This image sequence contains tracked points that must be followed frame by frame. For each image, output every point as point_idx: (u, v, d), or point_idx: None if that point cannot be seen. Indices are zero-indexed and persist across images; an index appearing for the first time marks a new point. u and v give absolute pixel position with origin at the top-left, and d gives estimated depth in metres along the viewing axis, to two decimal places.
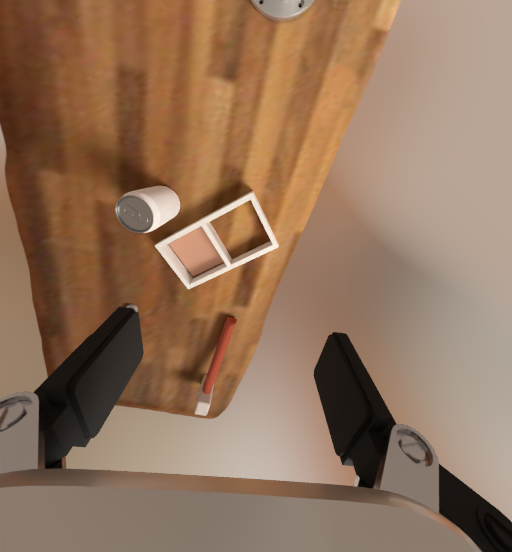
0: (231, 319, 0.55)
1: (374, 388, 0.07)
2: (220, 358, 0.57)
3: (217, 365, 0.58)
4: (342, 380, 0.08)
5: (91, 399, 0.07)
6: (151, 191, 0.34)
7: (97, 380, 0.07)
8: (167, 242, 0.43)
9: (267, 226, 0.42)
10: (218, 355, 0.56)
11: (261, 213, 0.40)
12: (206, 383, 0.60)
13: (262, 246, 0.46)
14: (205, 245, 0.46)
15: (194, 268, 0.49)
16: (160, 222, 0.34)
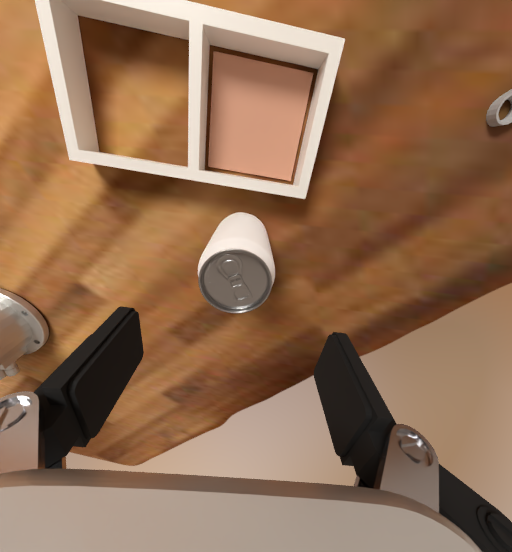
0: None
1: (374, 388, 0.07)
2: None
3: None
4: (342, 380, 0.08)
5: (91, 399, 0.07)
6: None
7: (97, 380, 0.07)
8: (280, 187, 0.21)
9: (52, 60, 0.17)
10: None
11: (60, 104, 0.18)
12: None
13: (101, 15, 0.17)
14: (232, 126, 0.21)
15: (293, 92, 0.20)
16: (219, 238, 0.16)
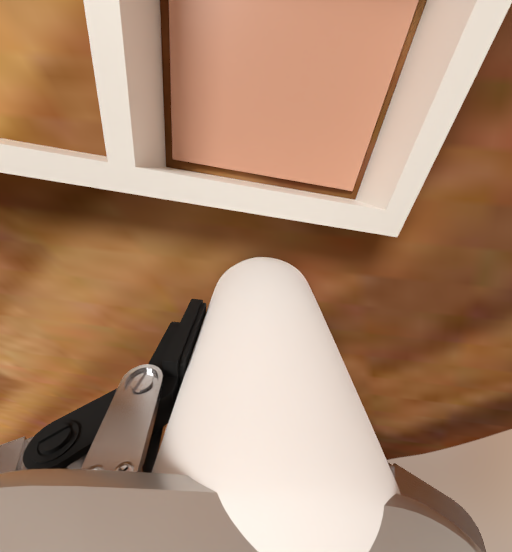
0: None
1: None
2: None
3: None
4: None
5: None
6: None
7: None
8: (340, 210, 0.09)
9: None
10: None
11: None
12: None
13: None
14: (224, 59, 0.09)
15: None
16: (209, 456, 0.04)
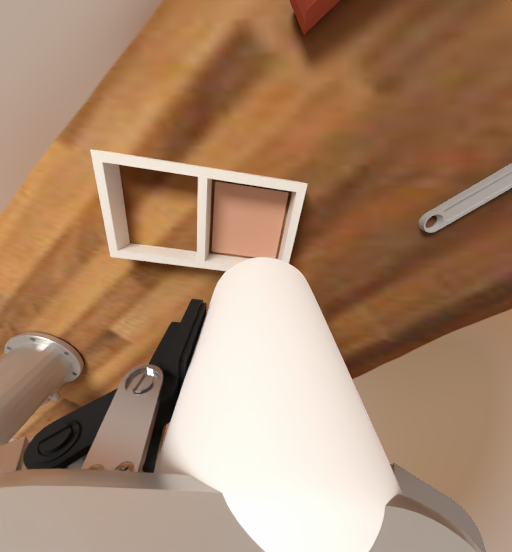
0: (297, 15, 0.18)
1: None
2: None
3: None
4: None
5: None
6: None
7: (190, 359, 0.08)
8: None
9: (102, 200, 0.24)
10: None
11: (106, 224, 0.25)
12: None
13: None
14: (229, 226, 0.28)
15: (274, 204, 0.27)
16: (211, 458, 0.04)
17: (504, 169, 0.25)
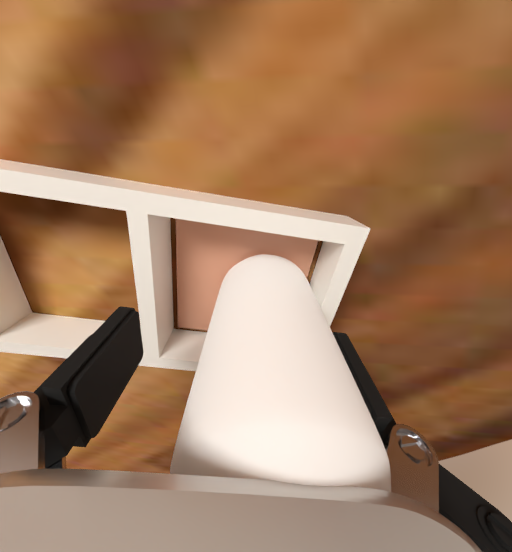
0: None
1: (374, 388, 0.07)
2: None
3: None
4: None
5: (91, 399, 0.07)
6: None
7: (97, 380, 0.07)
8: None
9: None
10: None
11: None
12: None
13: None
14: (207, 289, 0.15)
15: (290, 254, 0.14)
16: (232, 401, 0.05)
17: None
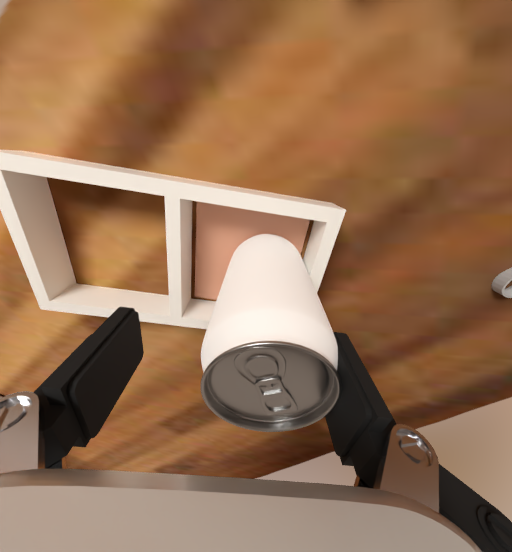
0: None
1: (374, 388, 0.07)
2: None
3: None
4: (342, 380, 0.08)
5: (91, 399, 0.07)
6: None
7: (97, 380, 0.07)
8: None
9: (13, 229, 0.15)
10: None
11: (26, 265, 0.16)
12: None
13: None
14: (219, 263, 0.19)
15: (287, 234, 0.18)
16: (240, 303, 0.09)
17: None
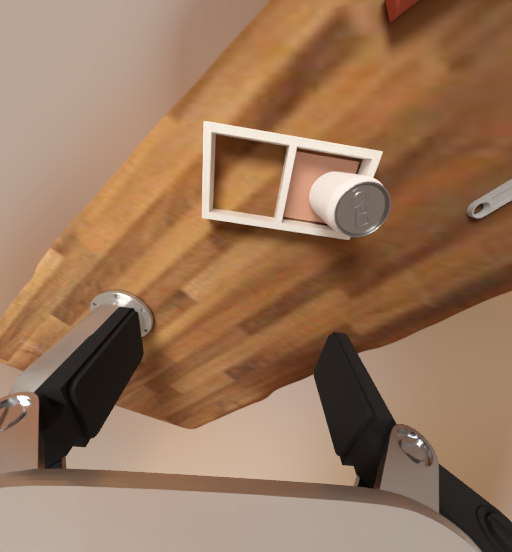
0: (389, 4, 0.22)
1: (374, 388, 0.07)
2: None
3: None
4: (342, 380, 0.08)
5: (91, 399, 0.07)
6: (322, 216, 0.26)
7: (97, 380, 0.07)
8: (333, 233, 0.32)
9: (205, 166, 0.28)
10: None
11: (204, 188, 0.29)
12: None
13: (232, 136, 0.28)
14: (302, 193, 0.32)
15: (344, 172, 0.31)
16: (348, 178, 0.22)
17: None
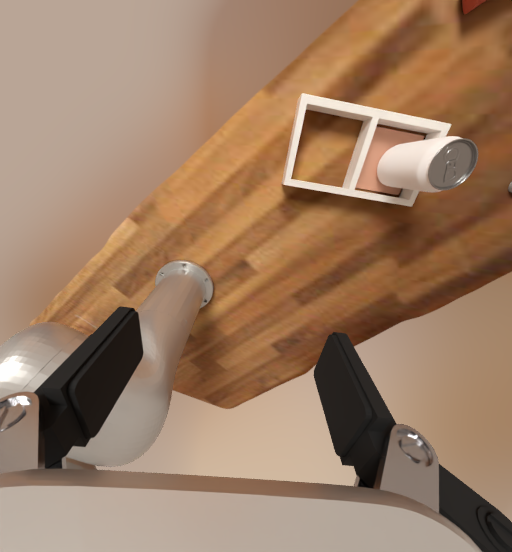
0: None
1: (374, 388, 0.07)
2: None
3: None
4: (342, 380, 0.08)
5: (91, 399, 0.07)
6: (404, 177, 0.30)
7: (97, 380, 0.07)
8: (398, 199, 0.36)
9: (295, 135, 0.32)
10: None
11: (291, 156, 0.33)
12: None
13: (319, 110, 0.32)
14: (371, 164, 0.36)
15: None
16: (439, 139, 0.26)
17: None
